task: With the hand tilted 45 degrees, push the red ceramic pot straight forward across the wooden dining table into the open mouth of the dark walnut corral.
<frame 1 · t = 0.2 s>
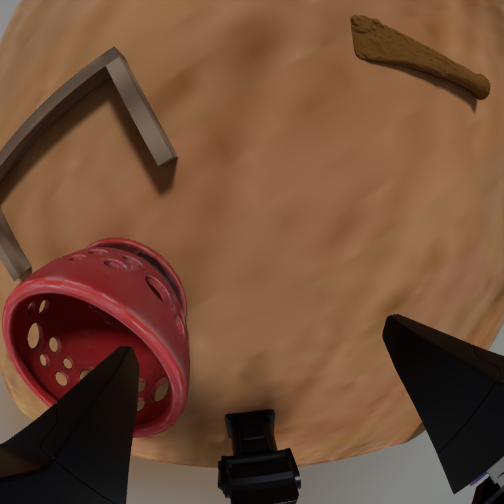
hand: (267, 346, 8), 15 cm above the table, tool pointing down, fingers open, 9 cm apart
walnut corral: (59, 177, 18), on the table
primitive tool: (422, 64, 19), on the table
plant pot: (128, 288, 23), on the table
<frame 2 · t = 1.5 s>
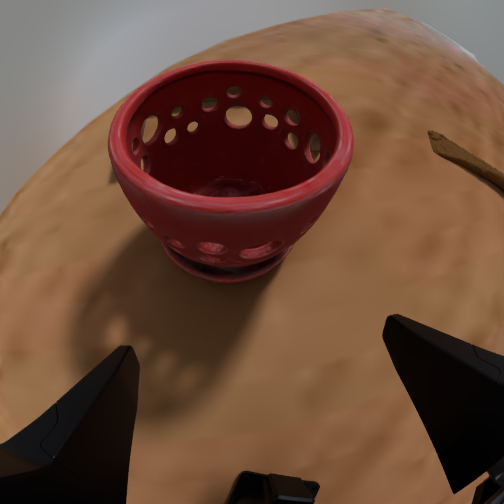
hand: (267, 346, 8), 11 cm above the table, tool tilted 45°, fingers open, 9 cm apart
walnut corral: (221, 123, 28), on the table
primitive tool: (470, 169, 30), on the table
plant pot: (230, 219, 23), on the table
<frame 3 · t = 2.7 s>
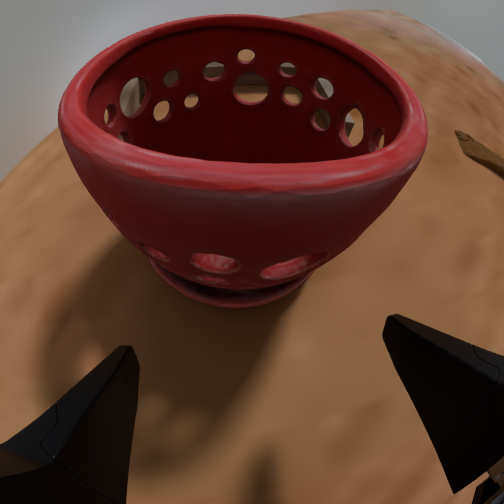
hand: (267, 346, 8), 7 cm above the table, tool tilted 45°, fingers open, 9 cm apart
walnut corral: (227, 109, 23), on the table
primitive tool: (496, 171, 25), on the table
plant pot: (238, 222, 18), on the table
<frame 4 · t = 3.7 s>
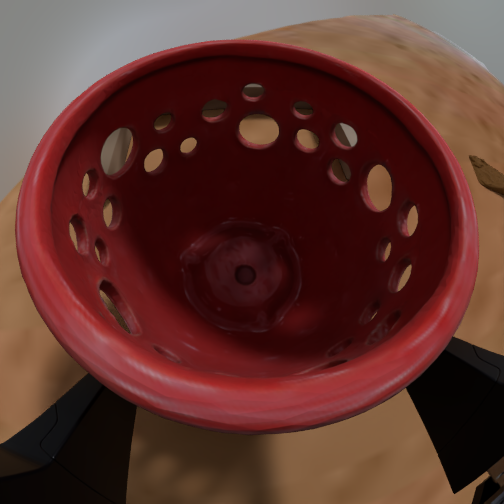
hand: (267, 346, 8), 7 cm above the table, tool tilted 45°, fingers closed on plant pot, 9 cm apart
walnut corral: (230, 139, 21), on the table
plant pot: (244, 279, 17), on the table, touching gripper
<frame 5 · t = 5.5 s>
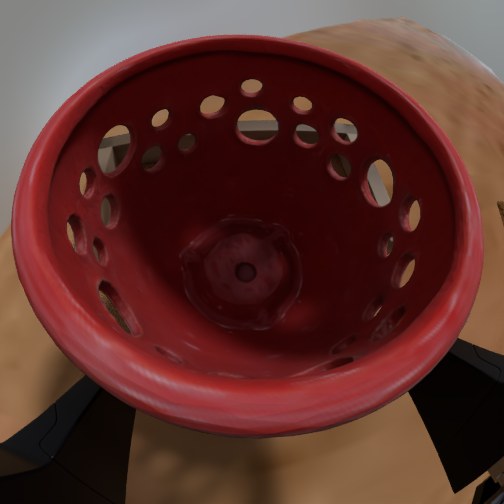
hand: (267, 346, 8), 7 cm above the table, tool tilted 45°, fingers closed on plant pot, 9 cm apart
walnut corral: (236, 204, 18), on the table
plant pot: (244, 276, 17), on the table, touching gripper
when the fingers open (7 cm above the table, at t = 5.8 s): plant pot stays where it is, on the table.
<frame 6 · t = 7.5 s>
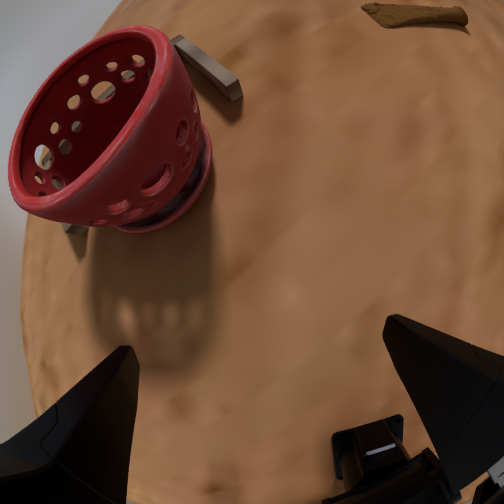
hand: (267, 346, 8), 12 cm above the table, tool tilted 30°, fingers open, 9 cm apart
walnut corral: (132, 133, 23), on the table
primitive tool: (420, 21, 20), on the table
plant pot: (156, 167, 22), on the table
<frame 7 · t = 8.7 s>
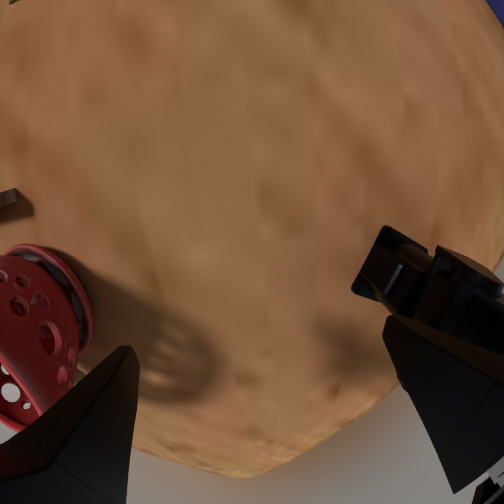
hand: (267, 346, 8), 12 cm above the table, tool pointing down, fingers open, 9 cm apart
plant pot: (45, 293, 19), on the table
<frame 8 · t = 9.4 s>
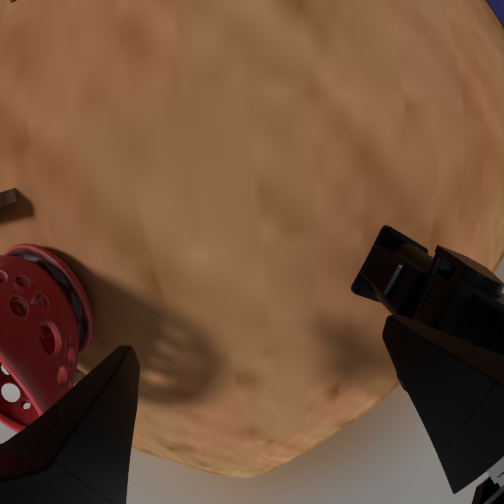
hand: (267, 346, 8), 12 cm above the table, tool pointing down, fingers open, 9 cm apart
plant pot: (45, 293, 19), on the table
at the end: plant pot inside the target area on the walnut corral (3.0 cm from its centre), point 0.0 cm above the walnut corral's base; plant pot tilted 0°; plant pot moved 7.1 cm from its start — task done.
